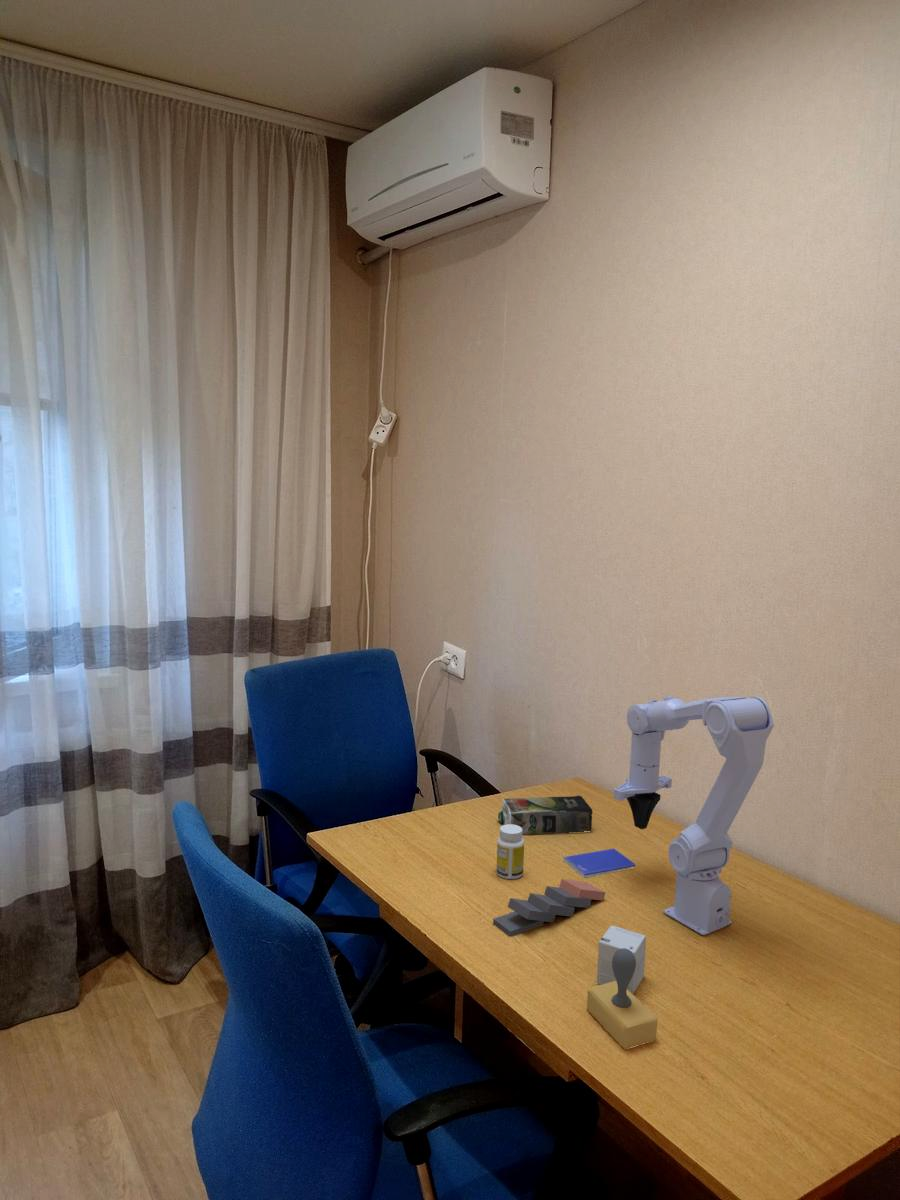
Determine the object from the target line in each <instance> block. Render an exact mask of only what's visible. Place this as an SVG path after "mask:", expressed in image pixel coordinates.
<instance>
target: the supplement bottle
mask: <svg viewBox="0 0 900 1200" xmlns="http://www.w3.org/2000/svg"><path fill="white" fill-rule="evenodd" d="M496 841H497V843H496V845H497V846H496V868H495V869H496V874H497V875H498V876H499V877H500V878H502V879H506V880H517V879H519V878H521V877H523V874H524V864H525V863H524V861H525V839H524V838H523V835H522V828H521V827H520V826H518V825H513V824H507V825H504V824H502V825H501V826H500V828H499V837H498V838H497V840H496Z"/></svg>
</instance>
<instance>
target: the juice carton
mask: <svg viewBox="0 0 900 1200" xmlns="http://www.w3.org/2000/svg"><path fill="white" fill-rule="evenodd" d="M592 815H593V809H592V807H591V805H589V804H588V802H587V801H586V800H585V798H584V797H583V796H582V795H573V796H571V795H570V796H546V797H545V796H542V797H535V796H534V797H513V798H503V799H502V806H501V811H499V812H498V813H497V819H498V820H499V821H500V823H501V824H502V825H507V824H513V825H518V826H520V827H521V828H522V836H532V835H556V834H555V833H567V834H570V833H569V832H584V831H591V832H592V824H593V817H592Z"/></svg>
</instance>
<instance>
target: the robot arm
mask: <svg viewBox="0 0 900 1200" xmlns="http://www.w3.org/2000/svg"><path fill="white" fill-rule="evenodd" d="M694 720H695V721H696V720H702V721H701V722H702V724H703V726H705V727H707V730H708V732H709V734H710V737H712V740H713V743H714V744H715V747H716V748H717V751H718V753H719V755H720V756H722V757H724V758H725V759H726V760H725V762H724V763H723V765H722V767H721V769H720V771H719V773H718V776H717V778H716V779H715V782H714V784H713V786H712V787H711V790H710V792H709V794H708V796H707V798H706V799H705V802H704V804H703V805H702V808H701V809H700V811H699V814H698V815H697V818H696V820H695V822H694V823H692V824H691V825H688V827H686V828H684V829H683V830H681V832H680V833H679V835H678V836H677V838H675V839H672V840H671V842H670V843H669V846H668V850H667V851H668V854H667V855H668V860H669V863H670V865H671V867H672V868H673V870H674V871H675V872H676V880H675V892H674V895H675V896H674V904H673V906H671V907H668V908H665V909H663V913H664V914H665V915H667V916H669V917H670V918H672V919H674V920H676V921H677V922H678V923H681V924H683V925H684V926H686V927H688V928H690V929H691V930H693V931H694V932H696V933H698V934H699V935H702V936H706V935H709V934H711V933H713V932H716V931H718V930H720V929H722V928H723V929H724V928H726V927H727V925H728V926H730V925H732V920H730V916H731V915H730V912H731V901H732V889H731V888H730V886H729V885H728V884H727V883H725V882H724V881H723V880H722V879H721V877H720V876H719V875H720V874H722V870H723V869H722V868H724V867H725V866H727V865H728V863H729V860H730V851H731V848H732V846H733V843H734V842H733V841H732V838H731V836H730V835H729V833H728V831H729V830H730V828H731V826H732V824H733V822H734V820H735V818H736V817H737V815H738V812H739V811H740V810H741V807H742V806H743V803H744V801H745V800H746V798H747V796H748V794H749V792H750V790H751V788H752V786H753V785H754V782H755V780H756V779H757V776H758V775H759V773H760V771H761V769H762V767H763V764H764V758H765V751H766V745H767V741H768V738H769V736H770V734H771V732H772V731H773V728H774V726H775V723H774V719H773V716H772V713H771V709H770V707H769V705H768V704H767V702H766V701H765V700H764V699H763V698H761V697H760V696H751V697H748V698H747V697H745V696H720V697H712V698H711V697H709V698H703V699H699V700H694V701H690V702H684V701H683V700H682V699H680V698H675V696H674V695H669V696H664V697H663V700H660V701H659V700H658V699H651V700H649V701H648V703H641V704H640V703H639V704H637V703H634V704H632V705H631V706H630V707H629V708H628V709H627V712H626V722H627V726H628V728H629V730H630V731H631V744H630V761H629V776H628V777H626V779H625V782H624V783H622V784H621V785H619V786H618V787H615V788H613V799H615V800H617V801H620V802H623V801H624V800H625V799H626V800H627V802H628V804H629V807H630V809H631V813H632V818H633V823H634V827H636V828H638V829H640V830H644V829H647V827H648V824H649V823H650V820H651V817H652V813H653V811H654V810H655V808H656V806H657V805H658V803H659V802H660V801H661V794H659V793H657V792H658V791H659V790H660V789H664V788H666V789H671V788H672V786H673V785H672V783H673V778H671V777H669V776H667V775H662V776H659V775H660V762H661V749H662V741H663V740H664V738H665V733H666V731H667V732H668V731H673V730H680V729H684V728H685V727H686V726H687V725H688V724H689V722H690V721H694ZM729 924H730V925H729Z"/></svg>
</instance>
